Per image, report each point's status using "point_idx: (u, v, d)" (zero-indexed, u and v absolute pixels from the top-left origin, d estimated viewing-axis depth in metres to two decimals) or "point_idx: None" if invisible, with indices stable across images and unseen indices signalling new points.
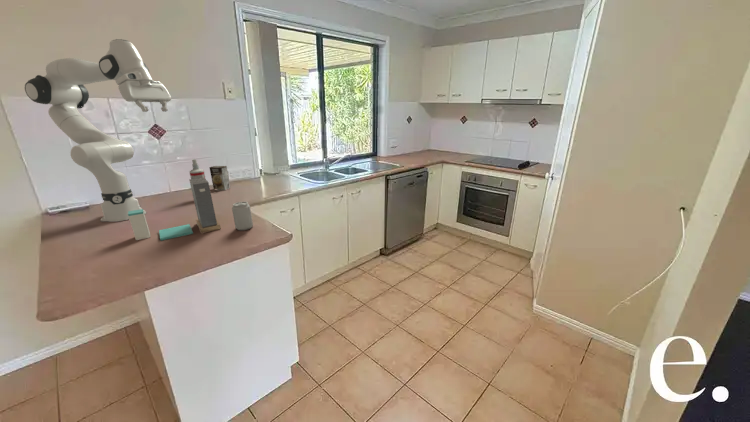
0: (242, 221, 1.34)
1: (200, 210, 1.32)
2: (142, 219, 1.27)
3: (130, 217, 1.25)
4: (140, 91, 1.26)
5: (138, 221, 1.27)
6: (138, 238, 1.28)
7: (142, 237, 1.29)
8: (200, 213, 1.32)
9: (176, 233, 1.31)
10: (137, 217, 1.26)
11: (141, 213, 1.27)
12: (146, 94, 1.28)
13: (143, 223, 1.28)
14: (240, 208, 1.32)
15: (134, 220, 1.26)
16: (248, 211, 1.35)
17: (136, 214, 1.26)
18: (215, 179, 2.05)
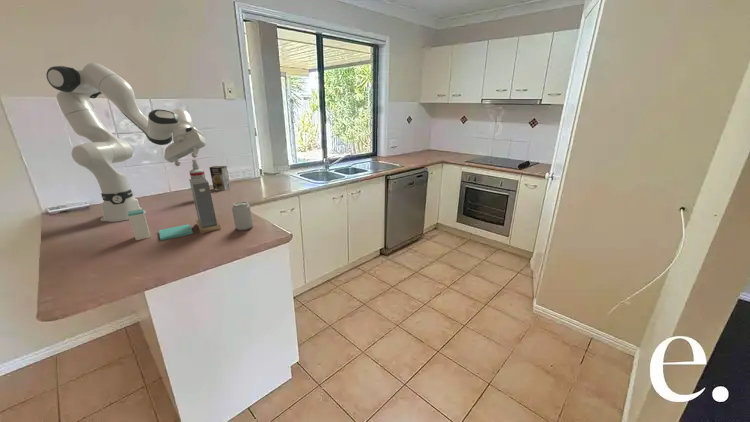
0: (242, 221, 1.34)
1: (200, 210, 1.32)
2: (142, 219, 1.27)
3: (130, 217, 1.25)
4: None
5: (138, 221, 1.27)
6: (138, 238, 1.28)
7: (142, 237, 1.29)
8: (200, 213, 1.32)
9: (176, 233, 1.31)
10: (137, 217, 1.26)
11: (141, 213, 1.27)
12: None
13: (143, 223, 1.28)
14: (240, 208, 1.32)
15: (134, 220, 1.26)
16: (248, 211, 1.35)
17: (136, 214, 1.26)
18: (215, 179, 2.05)
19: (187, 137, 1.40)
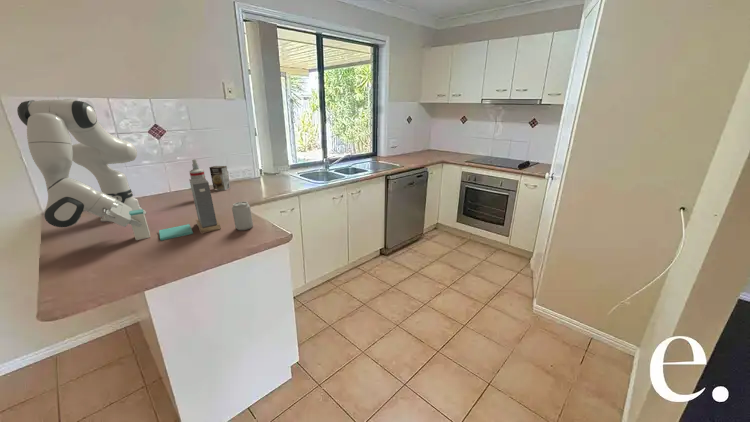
0: (242, 221, 1.34)
1: (200, 210, 1.32)
2: (142, 219, 1.27)
3: None
4: None
5: None
6: (138, 238, 1.28)
7: (142, 237, 1.29)
8: (200, 213, 1.32)
9: (176, 233, 1.31)
10: (137, 217, 1.26)
11: (141, 213, 1.27)
12: None
13: (143, 223, 1.28)
14: (240, 208, 1.32)
15: None
16: (248, 211, 1.35)
17: (136, 214, 1.26)
18: (215, 179, 2.05)
19: (117, 203, 1.26)
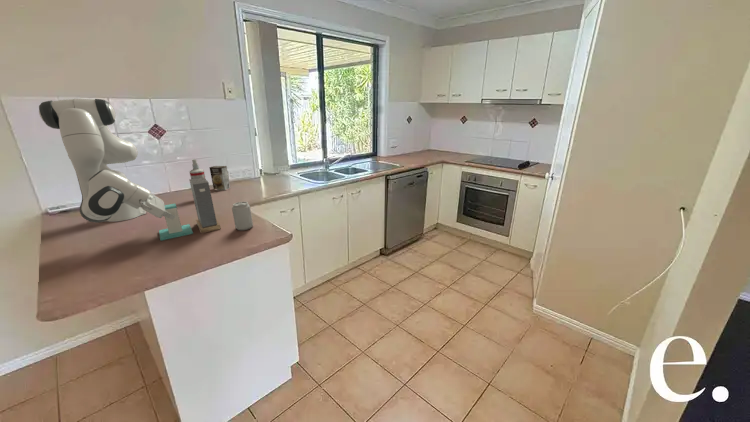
0: (242, 221, 1.34)
1: (200, 210, 1.32)
2: (175, 213, 1.31)
3: None
4: None
5: None
6: (171, 232, 1.32)
7: (175, 231, 1.32)
8: (200, 213, 1.32)
9: (176, 233, 1.31)
10: (171, 211, 1.30)
11: (174, 207, 1.30)
12: None
13: (176, 217, 1.31)
14: (240, 208, 1.32)
15: None
16: (248, 211, 1.35)
17: (170, 208, 1.29)
18: (215, 179, 2.05)
19: None
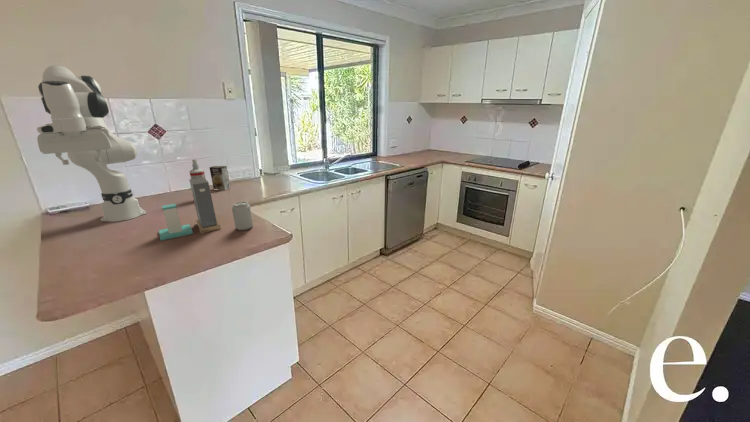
0: (242, 221, 1.34)
1: (200, 210, 1.32)
2: (175, 213, 1.31)
3: (164, 211, 1.28)
4: (59, 143, 1.12)
5: (172, 215, 1.30)
6: (171, 232, 1.32)
7: (175, 231, 1.32)
8: (200, 213, 1.32)
9: (176, 233, 1.31)
10: (171, 211, 1.30)
11: (174, 207, 1.30)
12: (68, 146, 1.14)
13: (176, 217, 1.31)
14: (240, 208, 1.32)
15: (168, 214, 1.29)
16: (248, 211, 1.35)
17: (170, 208, 1.29)
18: (215, 179, 2.05)
19: None
